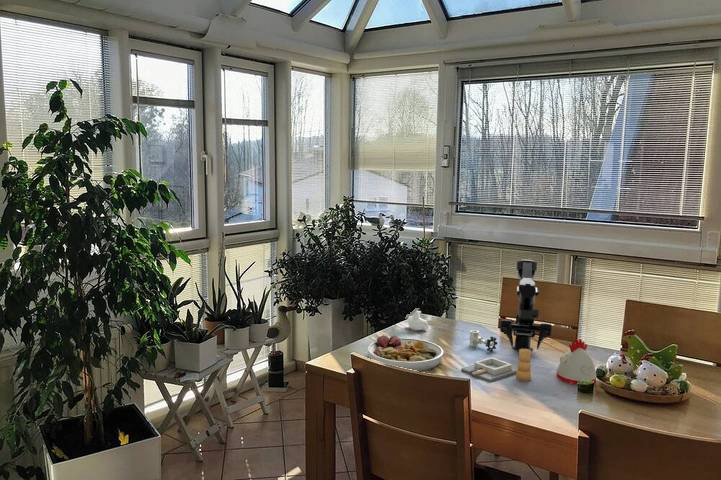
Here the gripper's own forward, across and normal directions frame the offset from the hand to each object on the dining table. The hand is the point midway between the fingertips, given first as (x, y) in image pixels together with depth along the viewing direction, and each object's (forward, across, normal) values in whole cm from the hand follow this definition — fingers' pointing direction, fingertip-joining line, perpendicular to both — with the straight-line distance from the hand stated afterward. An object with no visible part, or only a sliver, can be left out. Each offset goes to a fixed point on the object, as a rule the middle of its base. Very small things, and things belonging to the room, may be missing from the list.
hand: (524, 347), depth 225 cm
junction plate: (+7, -11, +8) cm, 16 cm away
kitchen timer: (+6, +19, +10) cm, 22 cm away
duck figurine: (-25, -48, +40) cm, 68 cm away
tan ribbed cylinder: (+10, 0, +5) cm, 11 cm away
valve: (-12, -17, +27) cm, 35 cm away
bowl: (+6, -46, +10) cm, 47 cm away
